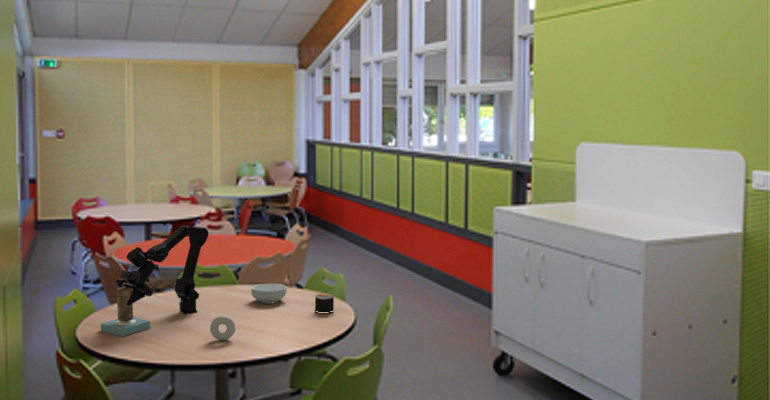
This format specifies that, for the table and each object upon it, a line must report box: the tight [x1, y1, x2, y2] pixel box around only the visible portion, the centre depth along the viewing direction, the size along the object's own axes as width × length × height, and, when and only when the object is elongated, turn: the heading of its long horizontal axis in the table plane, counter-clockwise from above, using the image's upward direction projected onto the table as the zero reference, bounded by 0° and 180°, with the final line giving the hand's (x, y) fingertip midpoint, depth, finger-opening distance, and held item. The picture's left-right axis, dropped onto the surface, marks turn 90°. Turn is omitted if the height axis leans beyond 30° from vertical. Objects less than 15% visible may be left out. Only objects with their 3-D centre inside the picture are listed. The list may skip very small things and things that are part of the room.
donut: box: [209, 315, 236, 341], centre depth 290 cm, size 10×4×10 cm, turn 95°
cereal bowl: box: [250, 283, 287, 304], centre depth 351 cm, size 17×17×7 cm
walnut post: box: [116, 287, 134, 321], centre depth 303 cm, size 6×6×13 cm
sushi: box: [314, 292, 335, 312], centre depth 334 cm, size 8×8×8 cm
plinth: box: [100, 316, 152, 337], centre depth 304 cm, size 14×14×3 cm
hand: (122, 304), depth 302 cm, fingers closed on walnut post, 6 cm apart
